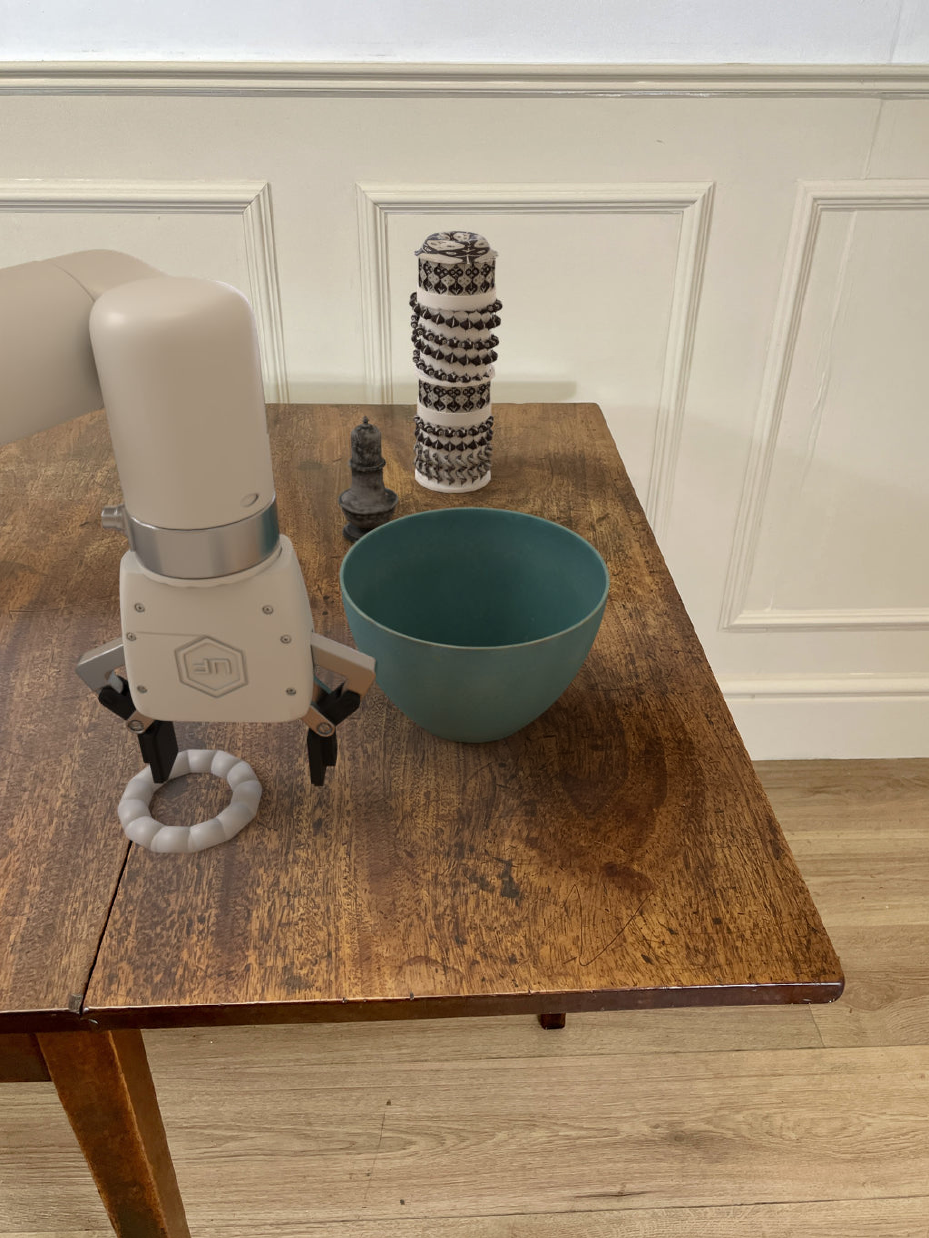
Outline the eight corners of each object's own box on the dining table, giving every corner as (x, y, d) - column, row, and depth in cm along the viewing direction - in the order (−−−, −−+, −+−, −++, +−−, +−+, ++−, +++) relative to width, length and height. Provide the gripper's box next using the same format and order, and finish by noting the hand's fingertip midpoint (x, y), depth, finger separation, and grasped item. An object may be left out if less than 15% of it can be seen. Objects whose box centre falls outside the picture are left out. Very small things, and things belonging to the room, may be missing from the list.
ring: (103, 861, 58) (97, 840, 57) (144, 762, 65) (140, 742, 64) (247, 864, 58) (244, 843, 57) (272, 765, 65) (270, 745, 64)
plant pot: (526, 832, 60) (538, 681, 53) (297, 736, 67) (283, 592, 61) (627, 682, 74) (648, 546, 67) (428, 616, 81) (428, 486, 74)
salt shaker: (327, 534, 92) (319, 418, 85) (364, 512, 96) (360, 399, 89) (374, 552, 89) (370, 433, 83) (411, 528, 94) (410, 413, 87)
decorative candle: (467, 502, 98) (474, 253, 84) (394, 480, 102) (389, 238, 88) (509, 471, 105) (523, 234, 91) (440, 452, 109) (442, 222, 95)
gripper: (12, 561, 46) (85, 810, 56) (363, 567, 46) (376, 815, 56) (67, 494, 53) (124, 728, 62) (376, 499, 53) (386, 732, 62)
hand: (243, 769), depth 59 cm, fingers open, 9 cm apart
